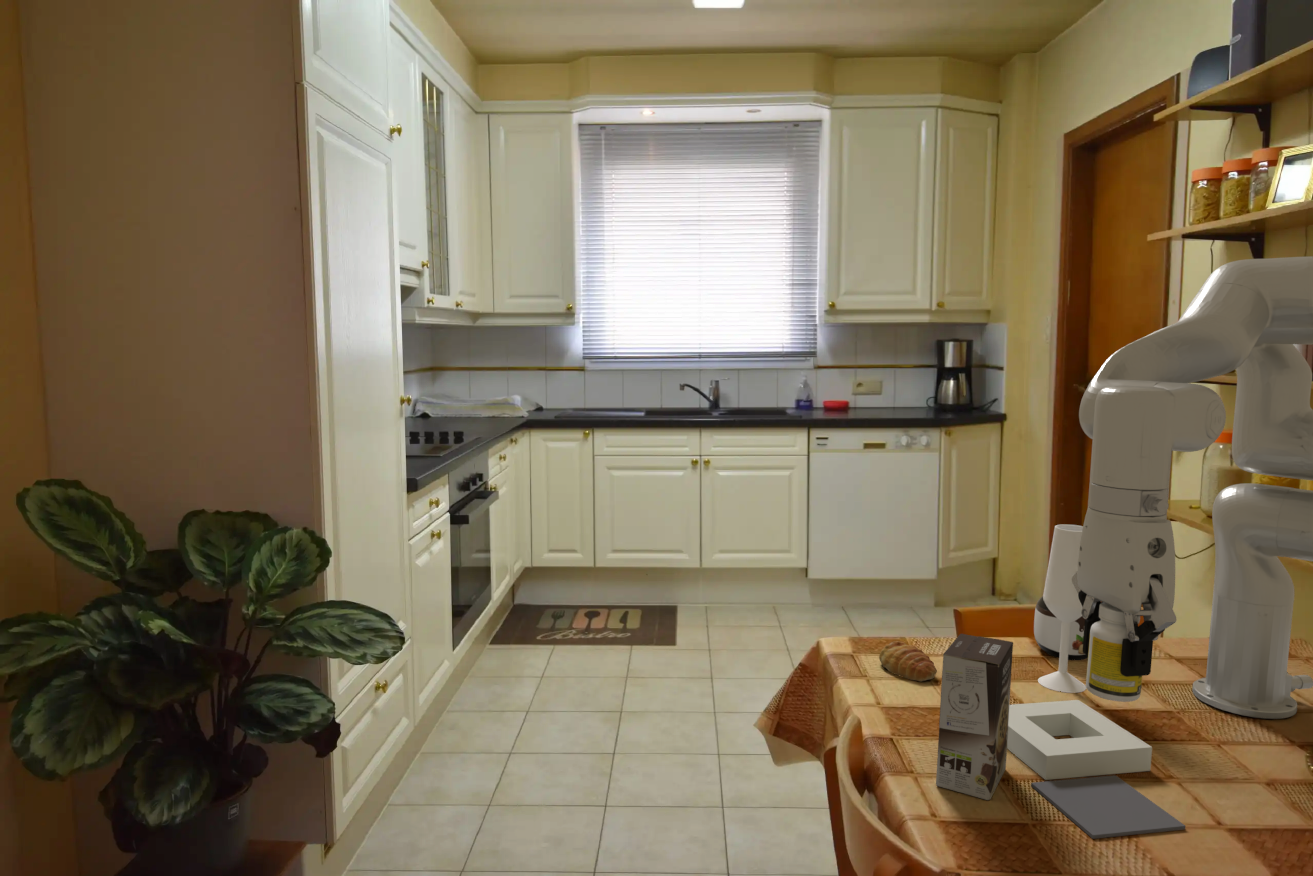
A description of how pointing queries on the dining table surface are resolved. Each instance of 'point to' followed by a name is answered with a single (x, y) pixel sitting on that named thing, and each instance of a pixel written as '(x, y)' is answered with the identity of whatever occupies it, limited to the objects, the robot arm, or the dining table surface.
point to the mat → (1106, 807)
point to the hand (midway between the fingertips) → (1115, 662)
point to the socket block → (1073, 741)
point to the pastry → (907, 661)
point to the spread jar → (1057, 633)
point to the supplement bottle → (1110, 658)
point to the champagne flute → (1063, 600)
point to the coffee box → (974, 715)
